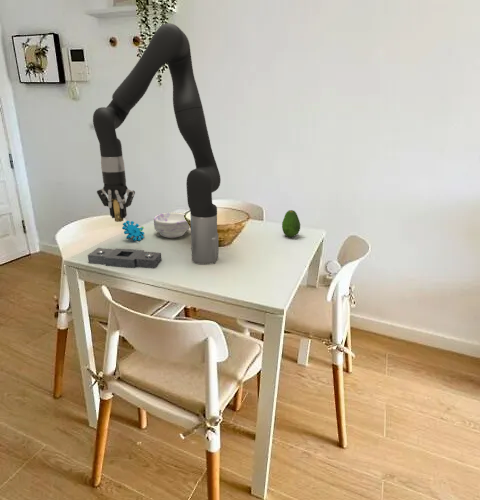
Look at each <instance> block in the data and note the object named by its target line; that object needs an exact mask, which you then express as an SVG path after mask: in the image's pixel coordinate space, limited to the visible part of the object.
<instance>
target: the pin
mask: <svg viewBox="0 0 480 500" xmlns="http://www.w3.org/2000/svg"><path fill="white" fill-rule="evenodd" d="M112 201H113V209H114V218H113V219H114V222H115V223H118V222H119V223H120V222H123V221H124V219H122V218H121V212H120V209H121V208H120V204H119V202H118V200H117V199H112Z"/></svg>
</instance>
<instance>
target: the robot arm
mask: <svg viewBox="0 0 480 500" xmlns="http://www.w3.org/2000/svg"><path fill="white" fill-rule="evenodd" d="M191 52H192V51H191V45H190V41H189V38H188V36H187V35H186V34H185V33H184V31H183V30H182V29H181V28H180V27H179V26H178V25H176V24H174V23H169V22H167V23H164V24H162V25H160V26H159V27H158V28H157V30H156V31H155V33H154V35H153V36H152V37H151V40H150V41H149V42H148V45H147V46H146V49H145V50H144V52H143V53H142V55H141V56H140V58H139V59H138V61H137V62H136V64H135V66H134V67H132V69H131V71H130V72H129V73H128V74H127V76H126V77H125V79H123V81H122V82H121V83H120V85H119V86H118V87H117V88H116V89H115V91H114V92H113V93H112V96H111V99H112V100H111V101H110V103H109V104H108V105H107V106H106V107H105V106H104V107H103V106H102V107H98V108H96V109H95V110H94V111H93V115H92V124H93V128H94V132H95V134H96V137H97V140H98V143H99V152H100V165H101V167H100V169H101V174H102V183H103V188H100V189H98V190H97V191H96V194H97V195H98V198H99V199H100V201H101V203H102V205H103V206H104V207H108V208H109V215H110V217H111V218H112V219H115V218H114V209H113V201H112V199H117V200H118V202H119V204H120V208H121V209H120V212H121V218H122V219H123V220H124V219H126V217H127V215H128V214H127V208H128V207H130V206H131V205H132V202H133V200H134V198H135V197H134V196H135V195H136V191H135V190H131V189H129V188H128V187H127V179H126V169H125V160H124V156H123V147H122V142H121V140H120V139H119V138H118V136H117V131H116V130H117V129H118V128H119V127H120V126H122V124H123V123H124V121H125V120H126V119H127V117H128V115H129V114H130V112H131V110H132V109H133V108H134V107H136V105H137V104H138V103H139V101H140V100H141V99H142V98H143V97H144V95H145V94H146V92H147V91H148V88H149V87H150V85H151V83H152V81H153V79H154V77H155V76H156V74H157V73H158V72H159V70H160V69H161V68H162V67H163V66H164V65H165V64H167V66H168V69H169V74H170V77H171V82H172V105H173V112H174V117H175V120H176V125H177V128H178V130H179V131H178V132H179V133H180V135H181V137H182V138H183V139H184V141H185V142H186V144H187V146H188V148H189V149H190V151H191V153H192V156H193V157H192V158H193V159H194V165H195V168H193V169H191V170H190V171H189V173H188V174H187V177H186V197H187V198H186V199H187V206H188V208H189V212H190V215H189V216H190V240H191V241H190V242H191V248H190V249H191V262H192V263H194V264H198V265H211V264H212V265H213V264H214V265H215V264H216V262H217V261H218V259H219V233H218V207H217V206H216V204H214V203H213V195H212V193H214V192H217V190H218V189H219V188H220V186H221V174H220V171H219V168H218V165H217V162H216V158H215V156H214V152H213V149H212V144H211V139H210V135H209V131H208V127H207V121H206V115H205V113H204V108H203V104H202V100H201V96H200V93H199V89H198V84H197V82H196V79H195V74H194V69H193V60H192V53H191ZM125 195H126V196H127V198H126V196H125Z"/></svg>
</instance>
